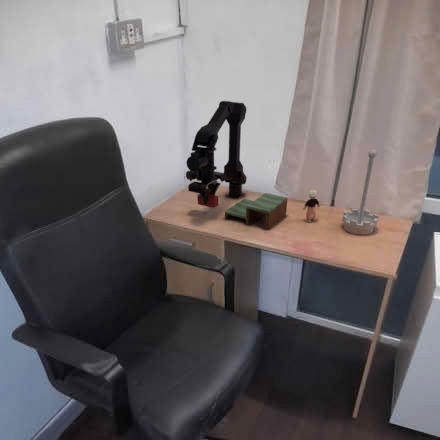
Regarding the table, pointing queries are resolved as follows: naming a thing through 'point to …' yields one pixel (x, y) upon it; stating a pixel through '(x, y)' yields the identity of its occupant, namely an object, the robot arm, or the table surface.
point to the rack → (260, 209)
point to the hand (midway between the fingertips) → (208, 202)
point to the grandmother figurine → (311, 206)
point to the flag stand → (362, 209)
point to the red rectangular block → (209, 201)
